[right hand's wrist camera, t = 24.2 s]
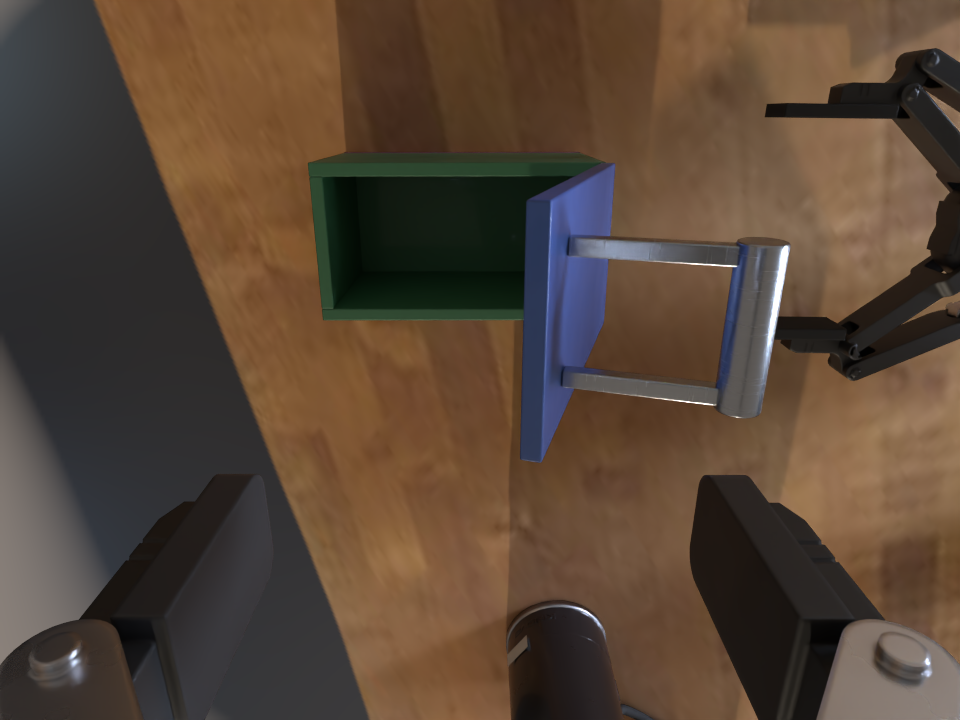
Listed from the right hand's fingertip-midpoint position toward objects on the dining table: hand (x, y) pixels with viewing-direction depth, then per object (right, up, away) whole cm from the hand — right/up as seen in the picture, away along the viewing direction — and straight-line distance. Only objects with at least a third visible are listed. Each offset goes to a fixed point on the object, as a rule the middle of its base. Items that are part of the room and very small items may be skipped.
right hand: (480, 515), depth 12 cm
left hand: (+18, +11, +28) cm, 35 cm away
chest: (-1, +13, +34) cm, 37 cm away
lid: (+4, +6, +17) cm, 18 cm away
